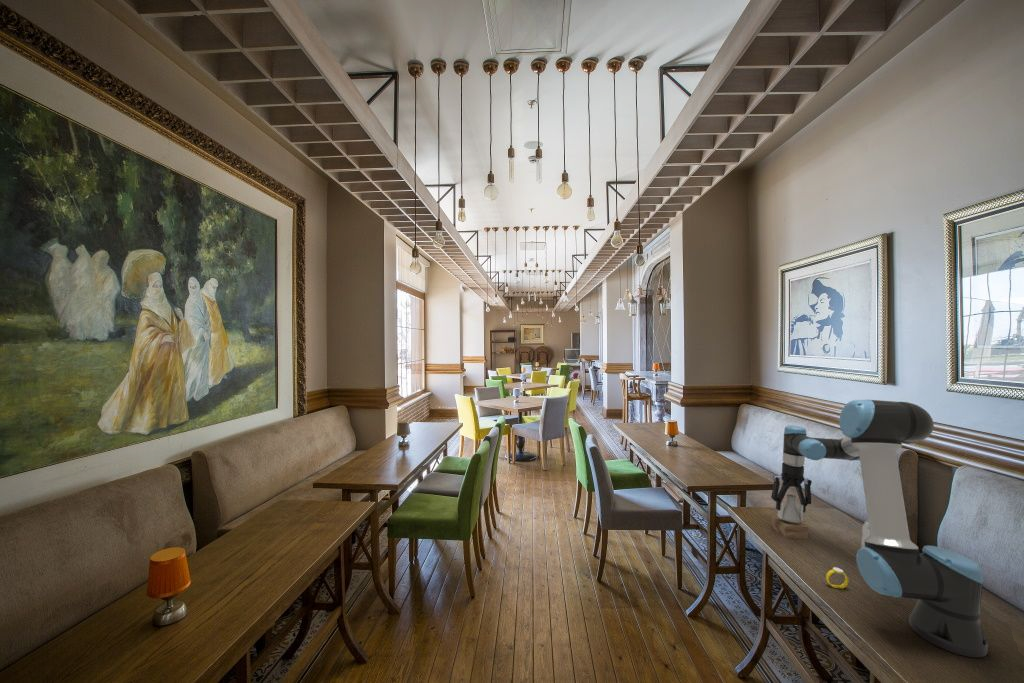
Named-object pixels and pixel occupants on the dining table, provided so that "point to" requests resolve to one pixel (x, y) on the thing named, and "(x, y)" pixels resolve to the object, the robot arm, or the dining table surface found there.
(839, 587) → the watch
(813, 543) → the dining table surface
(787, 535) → the stacked wooden planks
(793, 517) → the flask
